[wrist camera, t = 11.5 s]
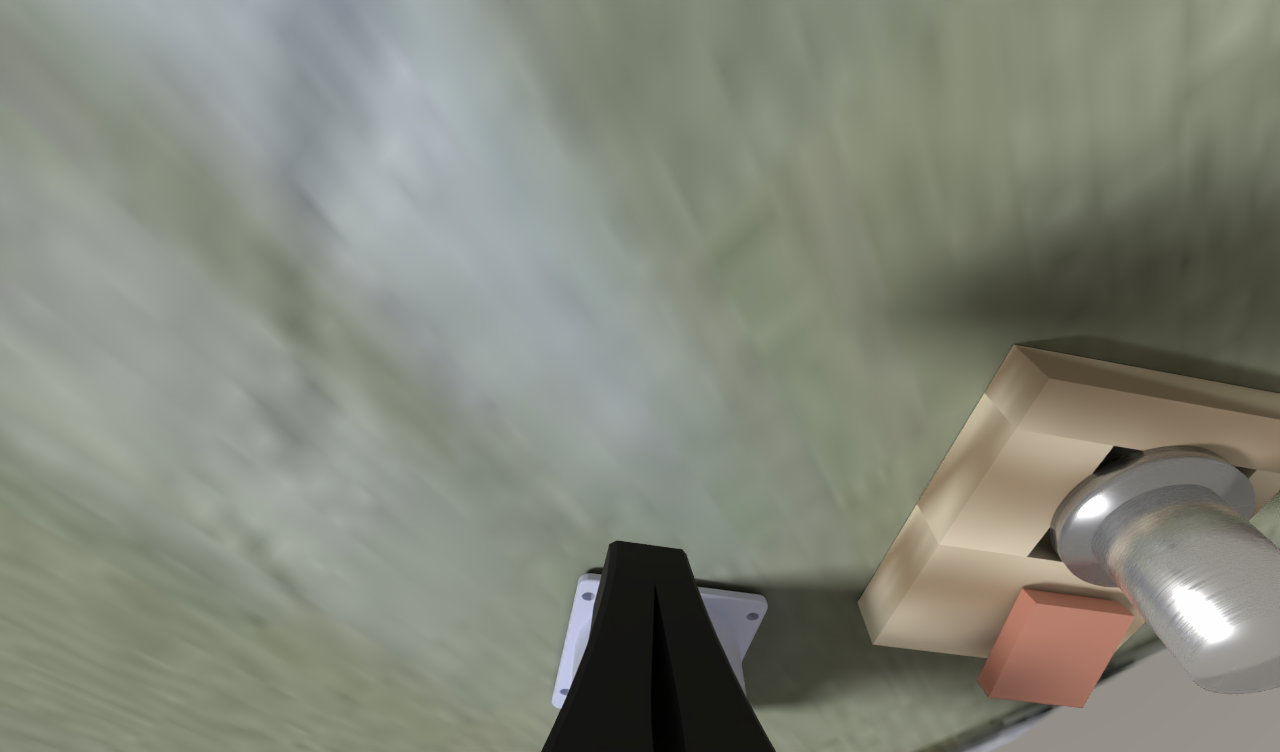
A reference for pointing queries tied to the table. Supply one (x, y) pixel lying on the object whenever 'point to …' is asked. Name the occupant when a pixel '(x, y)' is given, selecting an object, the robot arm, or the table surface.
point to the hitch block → (1044, 489)
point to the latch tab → (1054, 648)
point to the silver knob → (1181, 559)
